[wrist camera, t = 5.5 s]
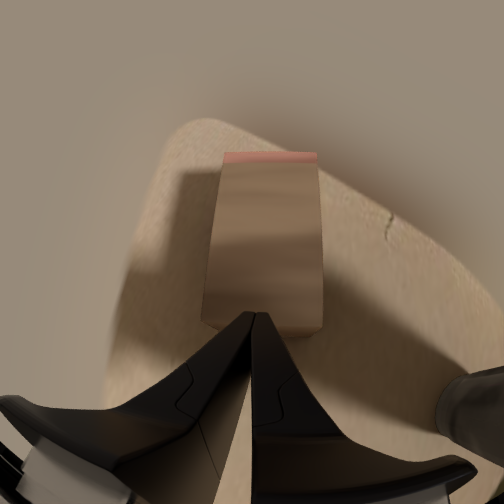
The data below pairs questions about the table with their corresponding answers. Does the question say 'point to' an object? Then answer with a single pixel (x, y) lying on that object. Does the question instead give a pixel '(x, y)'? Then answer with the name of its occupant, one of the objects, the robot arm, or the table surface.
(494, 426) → the beverage cup
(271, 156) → the wooden block
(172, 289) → the table surface
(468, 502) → the table surface
